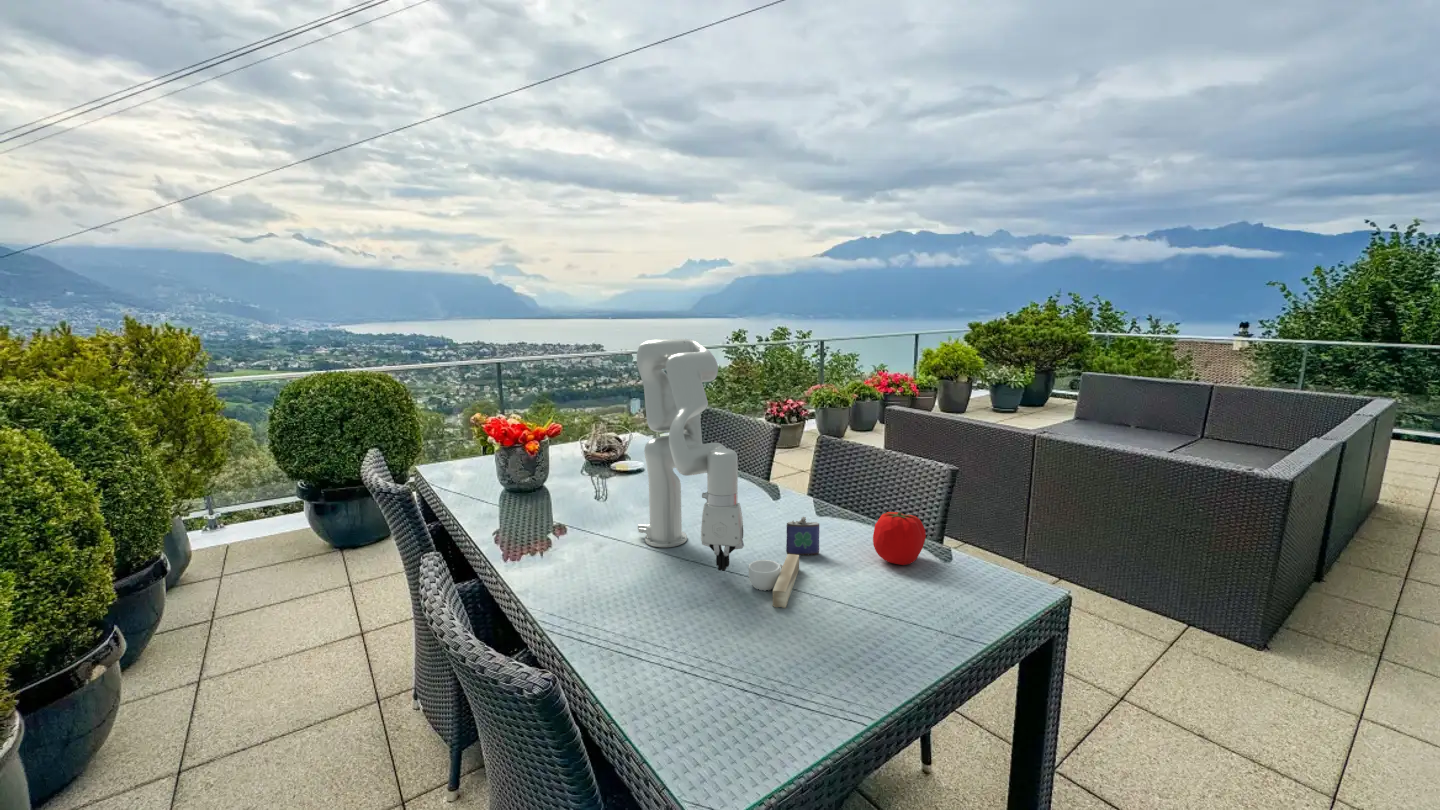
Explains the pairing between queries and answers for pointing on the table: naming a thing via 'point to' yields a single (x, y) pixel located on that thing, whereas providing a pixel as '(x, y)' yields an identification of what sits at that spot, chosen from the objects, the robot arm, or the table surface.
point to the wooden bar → (785, 581)
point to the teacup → (764, 574)
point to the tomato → (898, 537)
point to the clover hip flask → (802, 537)
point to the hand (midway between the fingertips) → (722, 568)
